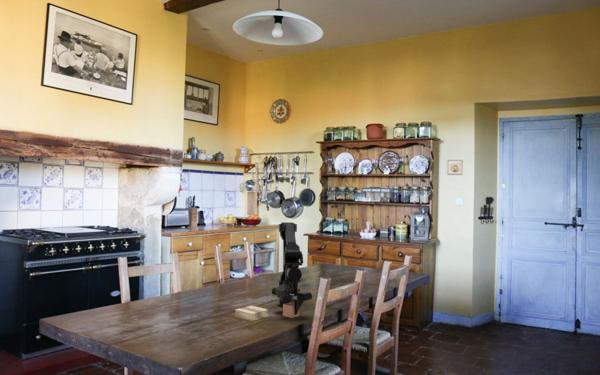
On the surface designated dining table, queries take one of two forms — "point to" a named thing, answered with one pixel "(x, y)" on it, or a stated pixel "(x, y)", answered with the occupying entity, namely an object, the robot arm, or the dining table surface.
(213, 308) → the dining table surface
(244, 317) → the base
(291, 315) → the cube
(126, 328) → the dining table surface
